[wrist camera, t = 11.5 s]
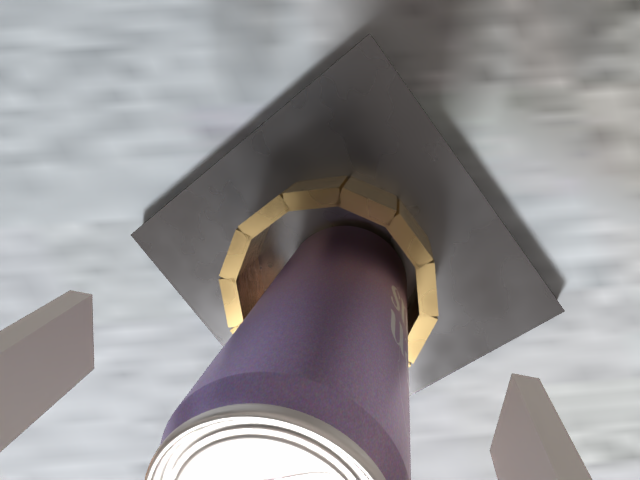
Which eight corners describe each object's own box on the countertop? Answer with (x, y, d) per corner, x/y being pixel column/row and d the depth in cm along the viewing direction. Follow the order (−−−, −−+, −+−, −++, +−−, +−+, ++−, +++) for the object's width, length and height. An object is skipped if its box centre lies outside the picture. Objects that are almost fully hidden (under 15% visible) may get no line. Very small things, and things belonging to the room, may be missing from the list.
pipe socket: (142, 229, 26) (90, 254, 22) (371, 37, 22) (364, 19, 17) (313, 437, 28) (296, 498, 24) (556, 301, 24) (593, 346, 19)
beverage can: (279, 232, 24) (95, 417, 10) (395, 212, 23) (382, 390, 8) (305, 337, 25) (177, 634, 11) (415, 324, 24) (434, 641, 10)
